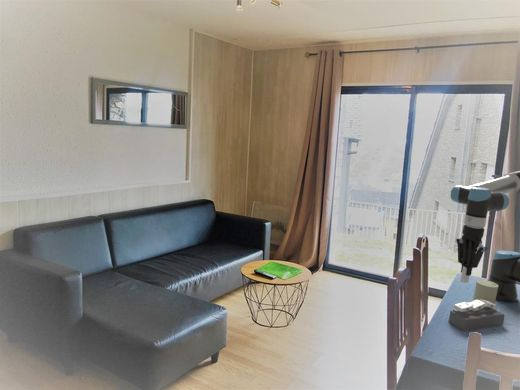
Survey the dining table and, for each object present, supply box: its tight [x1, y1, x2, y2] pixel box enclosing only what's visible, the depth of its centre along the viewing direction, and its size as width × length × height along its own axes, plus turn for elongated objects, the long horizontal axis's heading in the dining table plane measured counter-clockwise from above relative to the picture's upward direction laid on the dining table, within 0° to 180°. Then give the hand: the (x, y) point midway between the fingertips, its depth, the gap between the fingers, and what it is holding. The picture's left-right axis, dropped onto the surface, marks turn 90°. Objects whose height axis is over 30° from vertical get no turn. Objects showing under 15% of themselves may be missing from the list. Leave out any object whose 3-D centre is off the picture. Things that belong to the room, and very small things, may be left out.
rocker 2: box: [468, 300, 485, 311], centre depth 175 cm, size 6×4×2 cm
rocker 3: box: [479, 299, 498, 310], centre depth 177 cm, size 6×4×2 cm
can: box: [472, 279, 498, 305], centre depth 192 cm, size 9×9×12 cm
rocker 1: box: [453, 301, 473, 312], centre depth 172 cm, size 6×4×2 cm
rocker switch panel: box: [448, 306, 505, 332], centre depth 174 cm, size 22×8×6 cm, turn 112°
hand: (464, 281), depth 169 cm, fingers closed
